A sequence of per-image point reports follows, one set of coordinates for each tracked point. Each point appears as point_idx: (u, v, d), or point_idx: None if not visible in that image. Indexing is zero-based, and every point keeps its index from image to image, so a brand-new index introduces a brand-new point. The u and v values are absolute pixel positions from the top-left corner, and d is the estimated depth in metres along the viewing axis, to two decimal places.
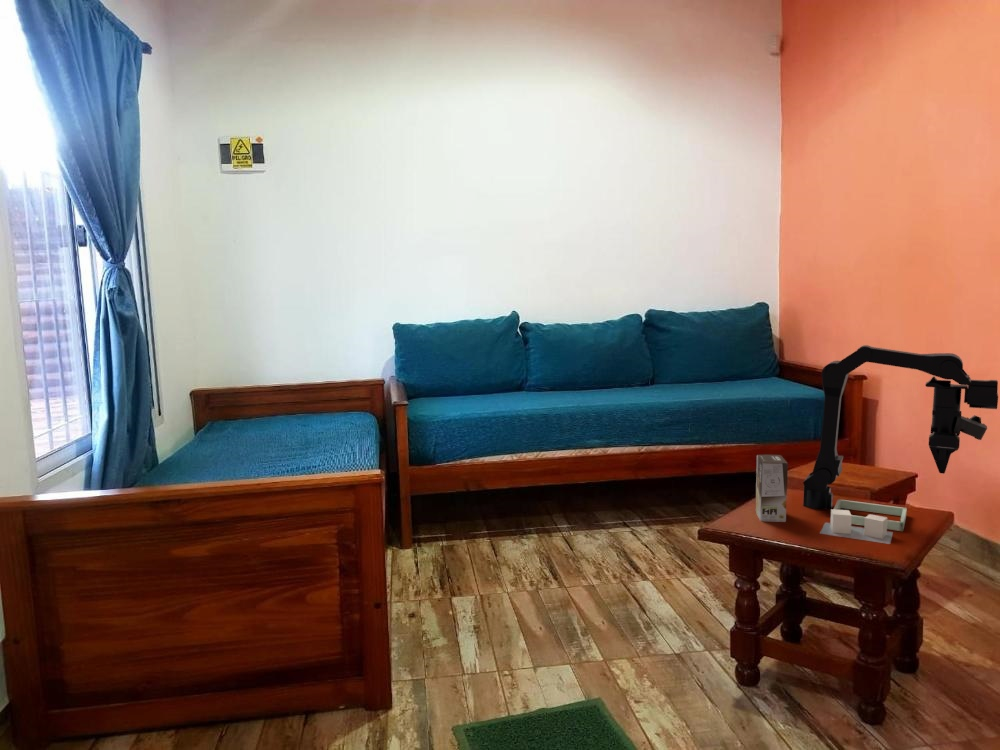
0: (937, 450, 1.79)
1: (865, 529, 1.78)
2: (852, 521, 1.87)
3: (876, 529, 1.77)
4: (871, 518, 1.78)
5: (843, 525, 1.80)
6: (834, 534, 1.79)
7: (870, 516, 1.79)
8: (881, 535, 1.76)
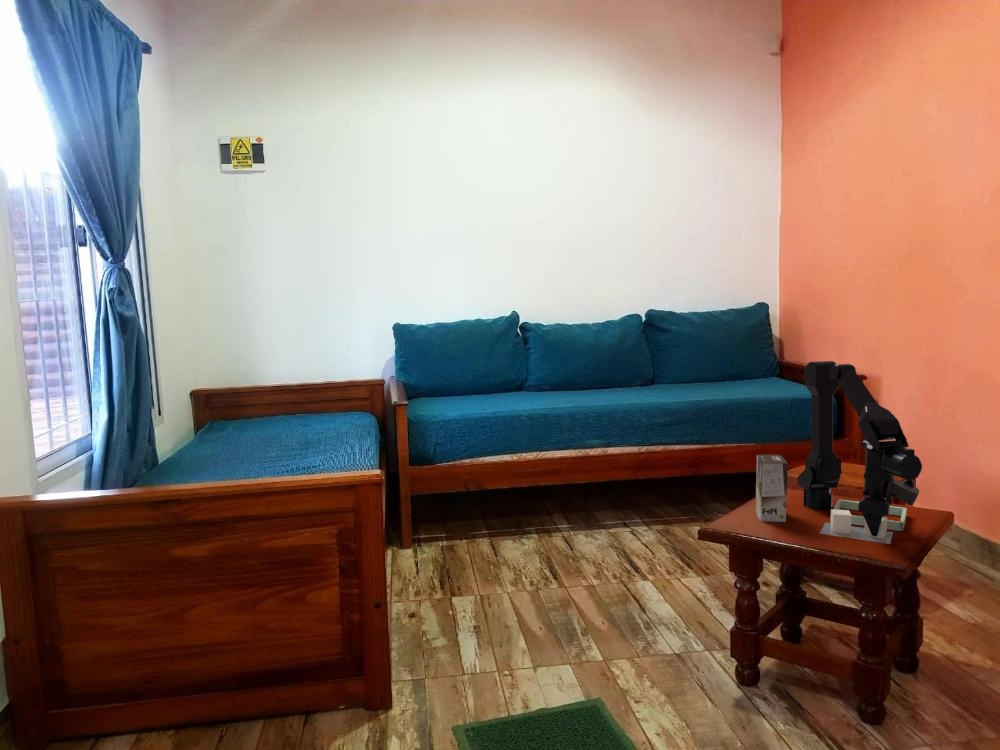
0: None
1: (865, 529, 1.78)
2: (852, 521, 1.87)
3: None
4: None
5: (843, 525, 1.80)
6: (834, 534, 1.79)
7: None
8: (881, 535, 1.76)
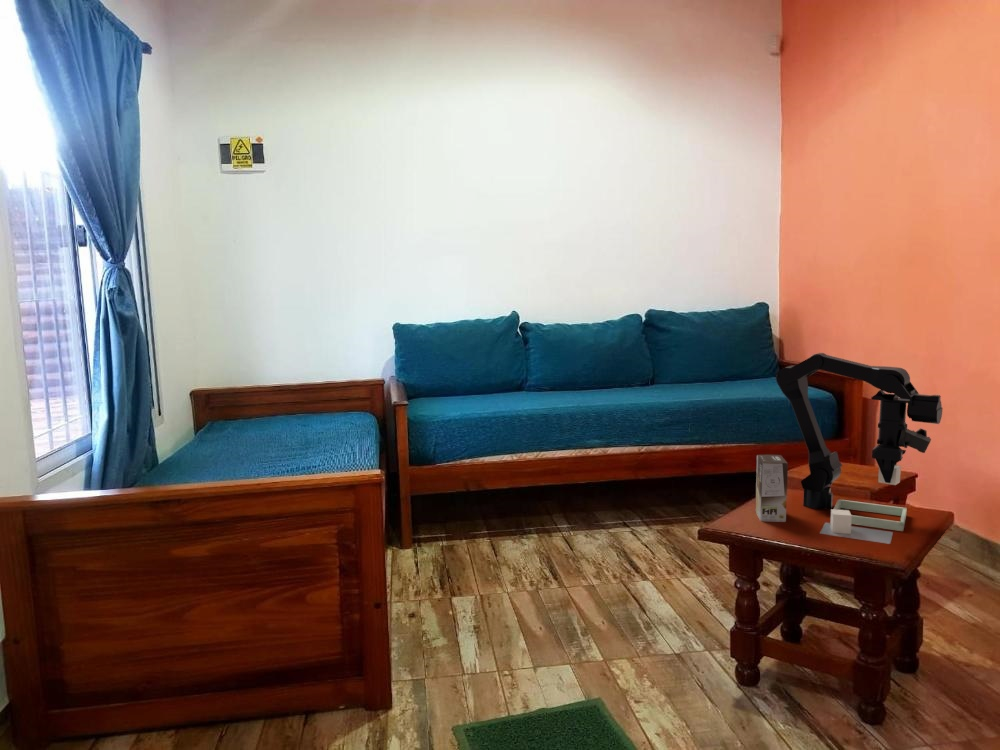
0: (882, 460, 1.85)
1: (879, 476, 1.88)
2: (852, 521, 1.87)
3: None
4: None
5: (843, 525, 1.80)
6: (834, 534, 1.79)
7: None
8: (894, 482, 1.86)
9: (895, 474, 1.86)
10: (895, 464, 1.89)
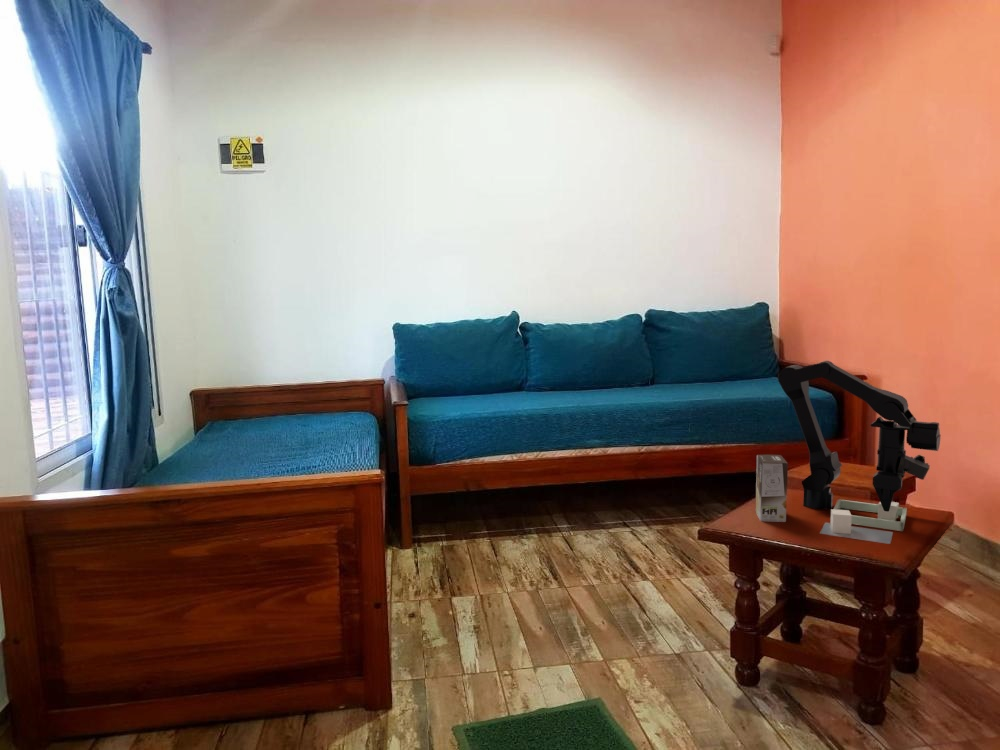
0: (881, 489, 1.85)
1: (879, 514, 1.90)
2: (852, 521, 1.87)
3: (889, 514, 1.89)
4: None
5: (843, 525, 1.80)
6: (834, 534, 1.79)
7: None
8: (894, 519, 1.88)
9: (894, 512, 1.88)
10: None
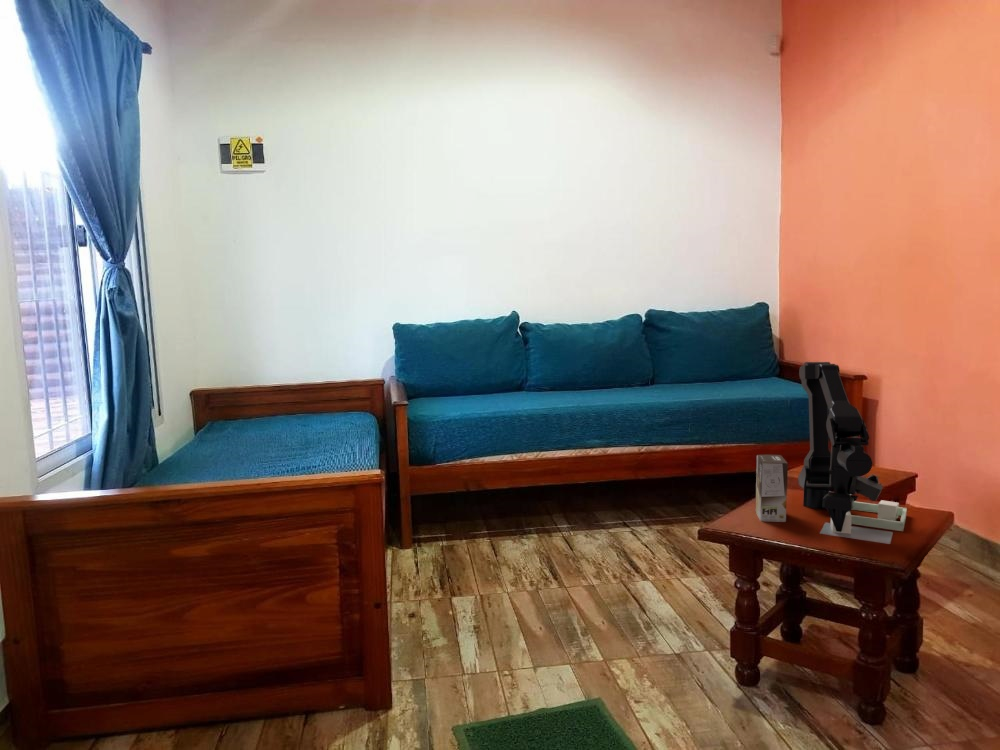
0: (833, 508, 1.79)
1: (879, 514, 1.90)
2: (852, 521, 1.87)
3: (889, 514, 1.89)
4: (884, 504, 1.90)
5: (843, 525, 1.80)
6: (834, 534, 1.79)
7: (882, 502, 1.91)
8: (894, 519, 1.88)
9: (894, 512, 1.88)
10: None
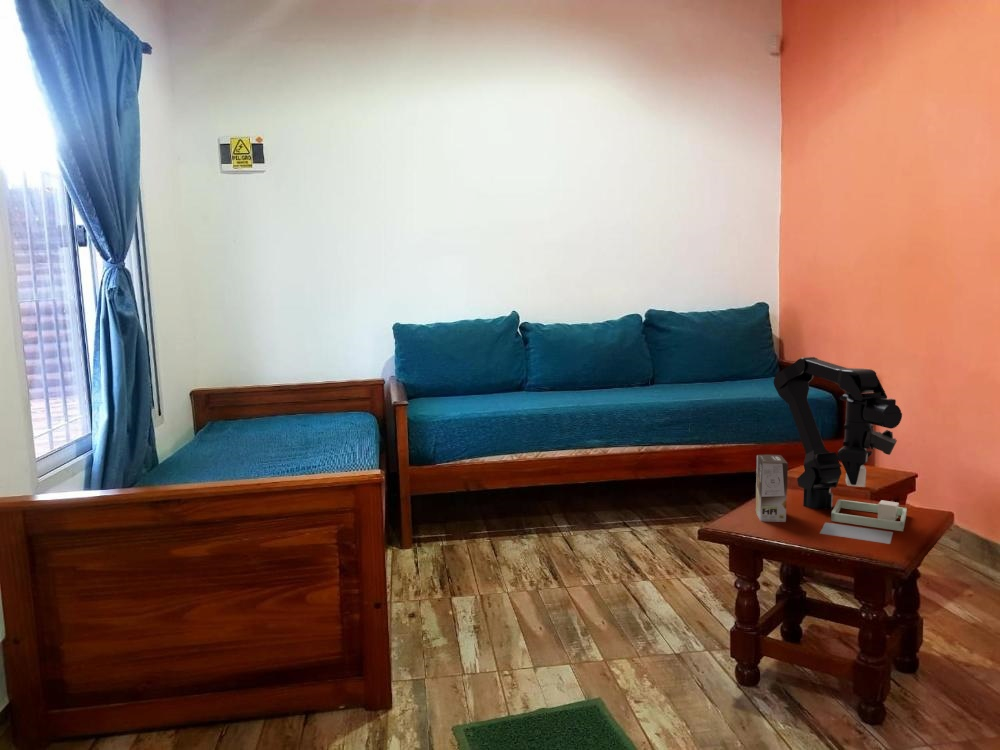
0: (848, 462, 1.84)
1: (879, 514, 1.90)
2: (852, 521, 1.87)
3: (889, 514, 1.89)
4: (884, 504, 1.90)
5: (858, 478, 1.86)
6: (834, 534, 1.79)
7: (882, 502, 1.91)
8: (894, 519, 1.88)
9: (894, 512, 1.88)
10: None
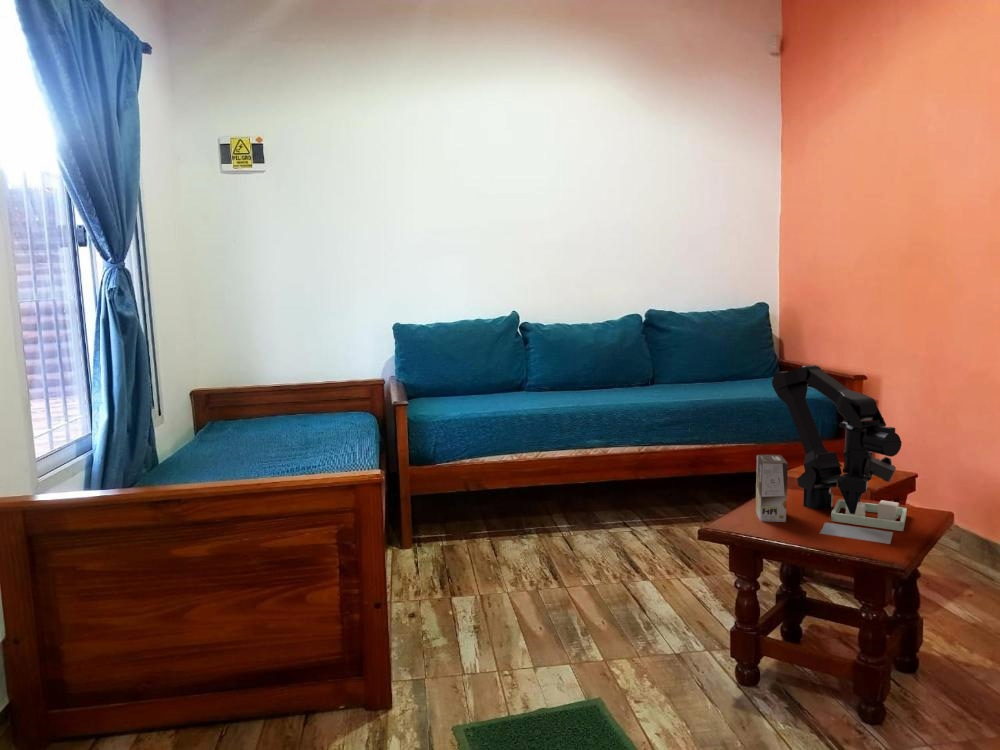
0: (847, 491, 1.83)
1: (879, 514, 1.90)
2: (852, 521, 1.87)
3: (889, 514, 1.89)
4: (884, 504, 1.90)
5: (855, 515, 1.88)
6: (834, 534, 1.79)
7: (882, 502, 1.91)
8: (894, 519, 1.88)
9: (894, 512, 1.88)
10: None
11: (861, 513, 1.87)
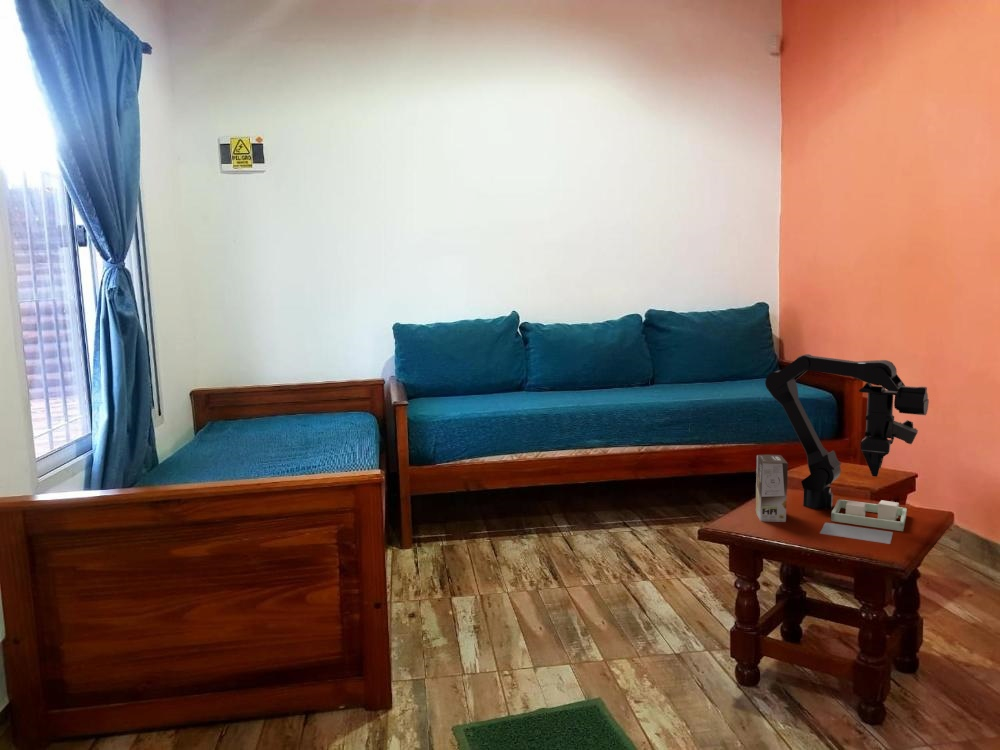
0: (869, 454, 1.85)
1: (879, 514, 1.90)
2: (852, 521, 1.87)
3: (889, 514, 1.89)
4: (884, 504, 1.90)
5: (855, 515, 1.88)
6: (834, 534, 1.79)
7: (882, 502, 1.91)
8: (894, 519, 1.88)
9: (894, 512, 1.88)
10: None
11: (861, 513, 1.87)
